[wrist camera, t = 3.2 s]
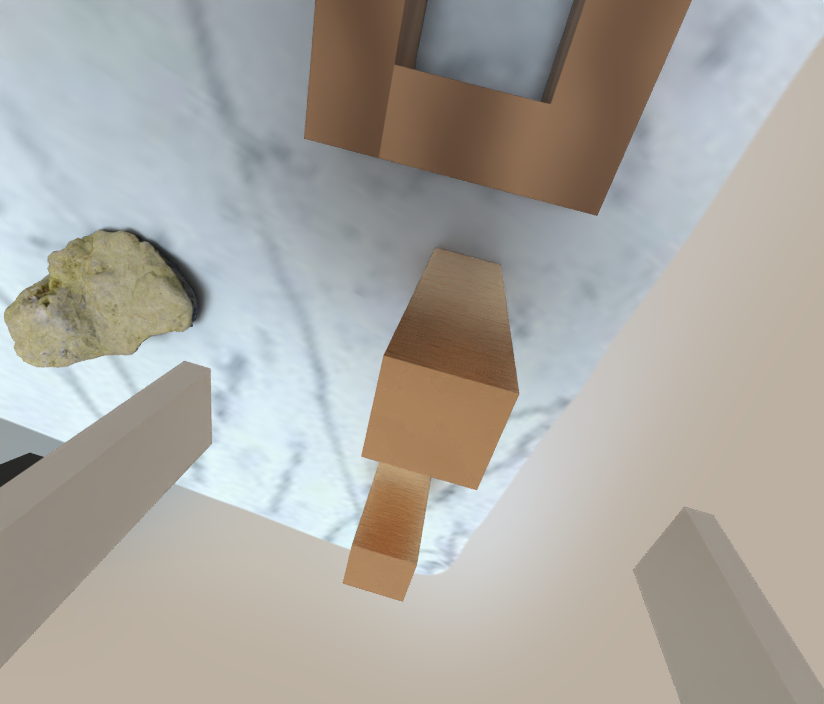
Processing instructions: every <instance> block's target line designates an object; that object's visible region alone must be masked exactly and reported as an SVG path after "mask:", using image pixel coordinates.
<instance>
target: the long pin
mask: <svg viewBox="0 0 824 704" xmlns="http://www.w3.org/2000/svg"><path fill="white" fill-rule="evenodd" d="M518 396H519V389H518V382H517V375H516V368H515V361H514V354H513V347H512V340H511V333H510V326H509V319H508V312H507V305H506V298H505V291H504V284H503V277H502V270H501V265H499V264H496V263H492V262H488V261H484V260H481V259H477V258H473V257H470V256H466V255H462V254H459V253H455V252H451V251H447V250H444V249H440V248H435V250H434V252H433V254H432V256H431V258H430V260H429V262H428V265H427V267H426V269H425V271H424V273H423V275H422V277H421V279H420V281H419V283H418V285H417V287H416V289H415V291H414V294H413V296H412V298H411V300H410V302H409V304H408V306H407V308H406V310H405V312H404V314H403V316H402V318H401V321H400V323H399V325H398V327H397V329H396V331H395V333H394V335H393V337H392V339H391V341H390V343H389V345H388V348H387V350H386V352H385V354H384V356H383V361H382V365H381V370H380V374H379V379H378V383H377V388H376V392H375V397H374V401H373V406H372V410H371V415H370V419H369V424H368V429H367V433H366V438H365V442H364V447H363V451H362V456H361V457H365V458H368V459H372V460H375V461H379V462H382V463H385V464H389V465H392V466H396V467H399V468H402V469H406V470H409V471H413V472H416V473H420V474H423V475H426V476H430V477H433V478H437V479H440V480H444V481H447V482H450V483H454V484H457V485H461V486H464V487H468V488H471V489H474V490H477V489H478V487H479V484H480V482H481V480H482V477H483V475H484V473H485V471H486V468H487V466H488V464H489V462H490V459H491V457H492V455H493V452H494V450H495V448H496V446H497V443H498V441H499V439H500V437H501V434H502V432H503V430H504V427H505V425H506V423H507V421H508V418H509V416H510V414H511V412H512V409H513V407H514V405H515V402H516V400H517V398H518Z"/></svg>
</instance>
